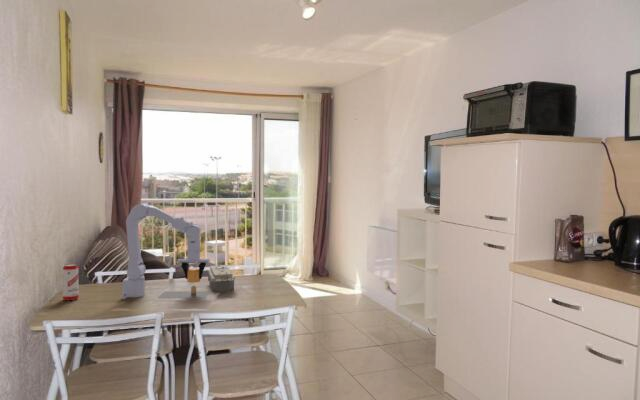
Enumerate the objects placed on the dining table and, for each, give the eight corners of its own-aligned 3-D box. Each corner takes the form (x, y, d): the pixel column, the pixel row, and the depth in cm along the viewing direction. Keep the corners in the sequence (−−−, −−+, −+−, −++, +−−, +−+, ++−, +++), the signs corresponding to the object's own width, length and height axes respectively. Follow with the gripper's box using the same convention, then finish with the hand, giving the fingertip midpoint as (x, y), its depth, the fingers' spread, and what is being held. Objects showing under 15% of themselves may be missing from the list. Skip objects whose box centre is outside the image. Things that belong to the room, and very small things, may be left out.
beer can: (81, 298, 205) (81, 264, 205) (69, 302, 200) (68, 266, 199) (72, 297, 208) (72, 263, 207) (59, 300, 202) (59, 265, 202)
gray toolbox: (227, 280, 245) (228, 262, 244) (236, 296, 219) (237, 276, 217) (205, 281, 241) (206, 263, 240) (212, 298, 214) (212, 278, 213)
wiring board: (157, 300, 205) (157, 289, 205) (164, 293, 217) (164, 283, 217) (205, 300, 206) (205, 289, 206) (210, 293, 218) (210, 283, 218)
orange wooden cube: (186, 282, 209) (186, 270, 209) (189, 279, 215) (189, 268, 215) (198, 282, 210) (198, 270, 209) (201, 279, 215) (201, 268, 215)
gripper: (175, 251, 207) (176, 280, 208) (207, 251, 208) (207, 280, 209) (179, 249, 214) (179, 277, 215) (210, 249, 215) (210, 277, 216)
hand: (193, 278), depth 212 cm, fingers closed on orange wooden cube, 6 cm apart
